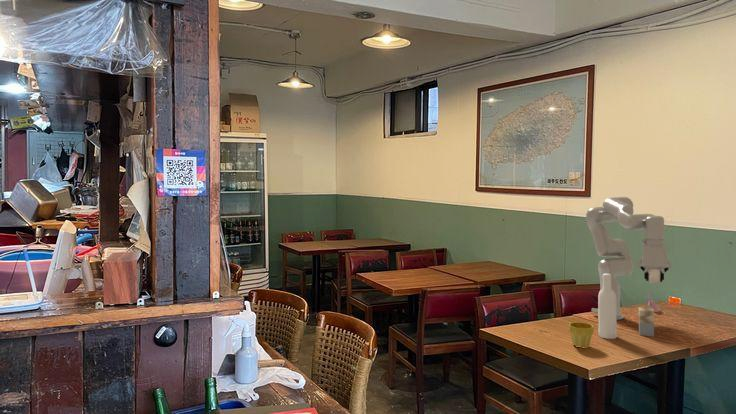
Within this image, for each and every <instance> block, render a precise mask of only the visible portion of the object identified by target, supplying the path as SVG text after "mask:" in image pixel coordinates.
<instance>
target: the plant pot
mask: <svg viewBox="0 0 736 414" xmlns="http://www.w3.org/2000/svg"><path fill="white" fill-rule="evenodd" d="M594 327H595V326H594V324H591V323H588V322H583V321H573V322H570V323H569V324H568V332H569V333H570V338H571V342H572V345H573V344H574V345H576V346H580V347H588V346H589V347H590V344H591V340H592V336H593V335H594V329H595V328H594Z"/></svg>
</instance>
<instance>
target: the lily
mask: <svg viewBox="0 0 736 414" xmlns="http://www.w3.org/2000/svg"><path fill="white" fill-rule="evenodd" d="M645 298H646V299H647V300H648V304H647V306H645V307H644V308H648V307H651V308H653V309H655V311H656V312H657V313H659V311H661V308H660V307H659V306H658V304H656V303H657V302H656V301H654V300H653V299H652V296H651V295H650V293H647V296H646V295H645ZM658 310H659V311H658Z"/></svg>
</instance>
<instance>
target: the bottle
mask: <svg viewBox="0 0 736 414" xmlns="http://www.w3.org/2000/svg"><path fill="white" fill-rule="evenodd" d="M602 278H603V289H602V290H599V292H598V297H597V301H598V302H597V304H598V305H597V306H598V307H597V309H598V313H597V317H598V337H599V338H600V339H604V338H605V339H606V340H616V338H617V336H618V335H617V334H618V329H617V325H618V323H617V321H618V320H616V295H615V292H614V291H613V290H612V289H611V274H603V276H602Z"/></svg>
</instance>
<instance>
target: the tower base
mask: <svg viewBox="0 0 736 414" xmlns="http://www.w3.org/2000/svg"><path fill="white" fill-rule="evenodd" d="M638 332H639V333H638V334H639V336H647V337H655V323H654V324H650V323H640V322H639V321H638Z"/></svg>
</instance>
